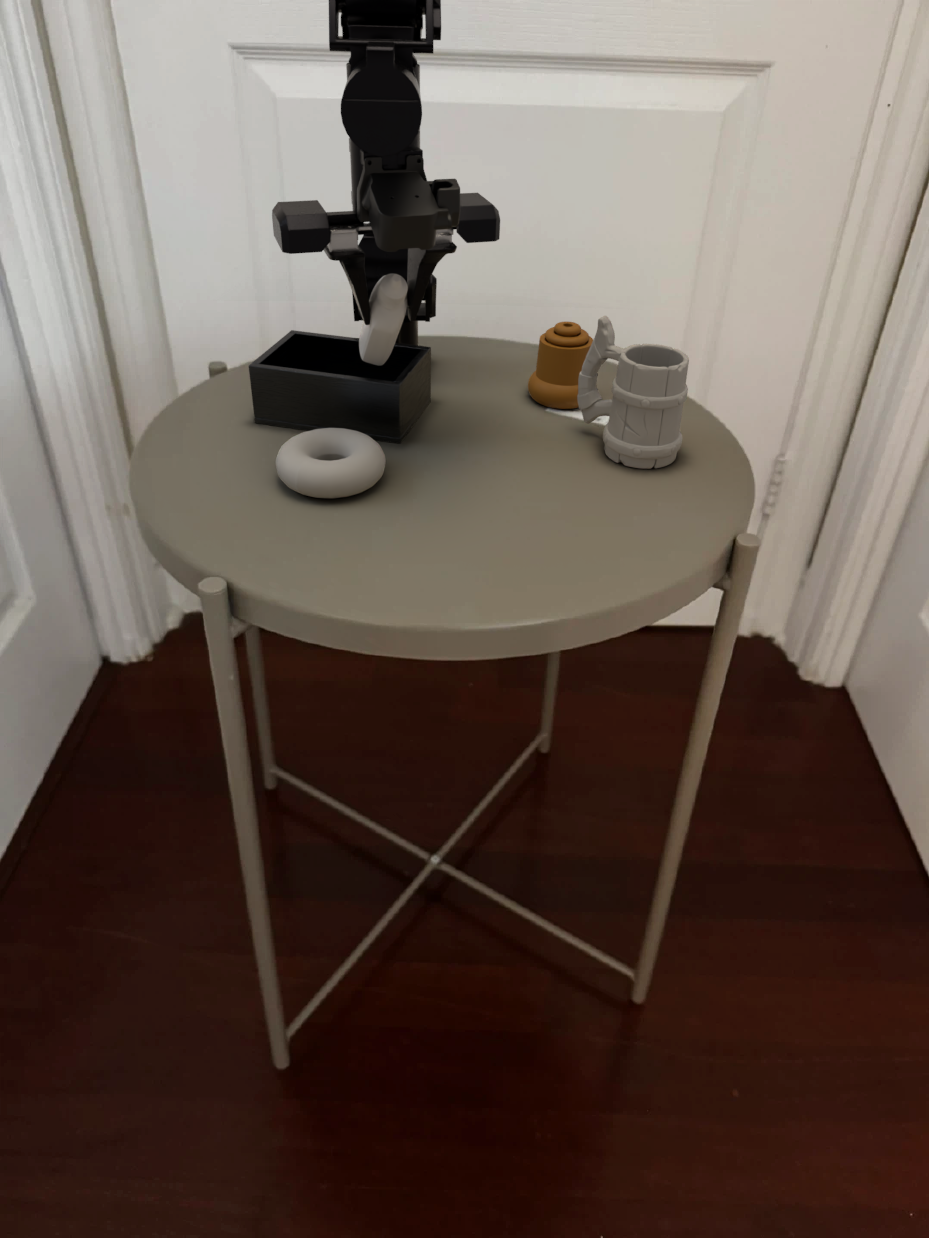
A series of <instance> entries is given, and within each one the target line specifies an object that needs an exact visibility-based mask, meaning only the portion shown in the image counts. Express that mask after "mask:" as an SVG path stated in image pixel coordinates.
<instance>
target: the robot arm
mask: <svg viewBox="0 0 929 1238" xmlns="http://www.w3.org/2000/svg"><path fill="white" fill-rule="evenodd" d="M339 18H340V19H339ZM424 18H425V19H424ZM339 20H340V21H339ZM339 23H340V24H339ZM424 23H425V24H424ZM339 25H340V26H339ZM424 25H425V37H424V38H423V30H424ZM339 27H341V30H342V32H341V33H342V34H341V35H339V29H340V28H339ZM441 40H442V0H328V47H329V48H328V49H329V52H345V53H347V52H348V53H350V56H349V59H348V62H346V64H345V66H346V69H345V70H346V83H345V86H344V90H343V93H342V97H341V100H340V117H341V122H342V123H341V124H342V126H343V129H344V130H345V133H346V135H347V136H348V137H349V138H348V151H349V159H350V176H351V177H350V179H351V180H350V181H351V184H350V185H351V191H350V197H351V199H350V200H351V206H352V210H344V211H343V210H342V211H341V210H340V211H326V210H325V209H324V207H323V206H322V204H321V203H320V202H319V201H318V199H315V200H314V199H313V200H311V199H310V200H293V201H292V200H291V201H277V202H276V204H275V206H274V207H273V208H272V210H271V220H272V231H273V237H274V239H275V240H276V243H277V245H278V246H279V248H280V251H281V252H282V253H283V254H289V255H294V254H295V255H296V254H309V253H310V254H312V253H323V252H324V253H325V255H326V256H327V258H328V259H329V260H331V261H339V264H340V266H341V268H342V269H343V272H344V274H345V276H346V278H347V281H348V284H349V286H350V289H351V292H352V294H351V295H352V308H353V309H352V311H353V321H354V322H360V321H362V322H363V321H364V323H365V325H370V305H369V299H370V296H371V293H372V291H373V289H374V287H375V285H376V283H377V282H378V281H379V280H380V279H381V278H382V277H383V276H385V275H388V274H392V273H394V274H398V275H400V276H402V277H403V278H404V279H405V281H406V283H407V286H408V290H407V295H408V303H407V310H406V314H405V317H404V320H403V323H402V325H401V328H400V331H399V334H398V336H397V339H396V342H395V343H401V344H409V345H417V346H419V322H425V323H430V322H431V319H433V318H435V317H436V316H437V285H438V282H437V281H438V280H437V279H438V278H437V277H436V276H435V275H434V274H433V273H434V271H435V269H436V267H437V266H438V264H439V262H441V260H442V259H443V258H444V257H445V256H446V255H448V254H455V253H456V252H457V248H458V246H457V244H455V242H453V235H454V230H455V231H456V234H458V236H459V237H460V238H461V239H462V240H463V241H464V242H465V243H466V244H473V243H475V244H476V243H493V242H498V241H499V240H500V231H501V216H500V211H499V210H498V209H497V207H496V206H495V205H494V204H493V203H492V202H491V201H489V200H488V199H486V197H484V196H483V195H482V194H480V193H479V192H463V193H461V187H460V185H459V182H458V180H457V178H439V179H436V178H435V179H433V180H428V178H427V175H426V172H425V169H424V165H425V163H424V162H425V161H424V151H423V149H422V148H421V126H422V119H423V105H422V97H421V65H420V64H418V59H417V57H416V56H415V54H427V55H429V54H432V55H434V41H441ZM359 236H362V237H361V239H360V241H359Z"/></svg>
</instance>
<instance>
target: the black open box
mask: <svg viewBox="0 0 929 1238" xmlns="http://www.w3.org/2000/svg"><path fill="white" fill-rule="evenodd" d="M248 375H249V382H250V390H251V401H252V407H253V415H254V416H253V417H254V423H255V424H260V425H267V426H273V427H274V426H275V427H279V428H287V429H295V430H302V431H311V430H315V429H322V428H344V429H349V430H354V431H358V432H361V433H363V434H366V435H368V436H370V437H371V438H372V439H373V440H375V441H376V442H377V441H379V442H386V443H393V444H398V445H401V444H402V442H403V441H404V440H405V438H406V437H407V435H408V434H409V433H410V431H412V429H413V427H414V426H415V424H416V423H417V422H418V420H419V419H420V417H421V416H422V415H423V414H424V412H425V411H426V409H427V408H428V407H429V405H430V404H431V403H432V347H431V346H424V345H418V346H417V345H409V344H401V343H395V344H394V347H393V350H392V352H391V354H390V356H389V358H388V359H387V361H386V362H385V363H384V364H383V365H379V366H378V365H374V364H371V363H367V362H365V361H363V360H362V359H361V356H360V351H359V337H352V336H343V335H342V336H341V335H336V334H335V335H334V334H327V333H319V332H311V331H303V330H302V331H301V330H294V329H291V330H289V332H287V333H286V334H284V335H283V337H281V338H280V339H279V340H277V341H276V342H275V343H274V344H272V346H270V347H269V348H268V349H267V350H265V351H264V352H263V353H262V354H260V355H259V356H258V357H257V358H256V359H254V361H252V362H251V363H250V364H248Z"/></svg>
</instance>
